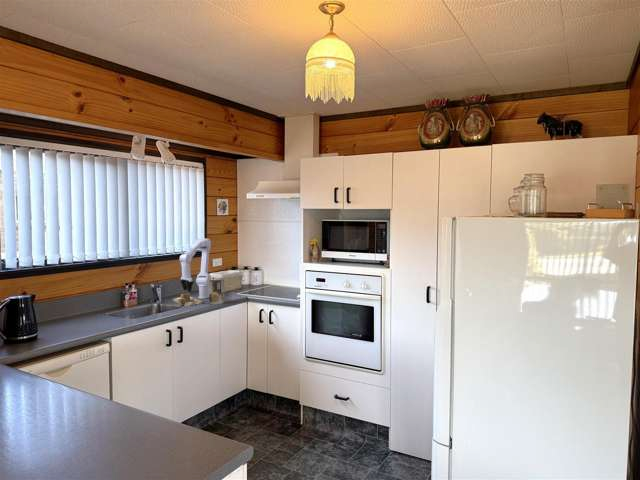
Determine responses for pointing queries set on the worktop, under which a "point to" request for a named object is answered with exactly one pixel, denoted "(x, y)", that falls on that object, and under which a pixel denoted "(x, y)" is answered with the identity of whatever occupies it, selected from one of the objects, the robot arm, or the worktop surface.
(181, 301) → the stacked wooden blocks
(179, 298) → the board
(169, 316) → the worktop surface
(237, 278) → the storage basket
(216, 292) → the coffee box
